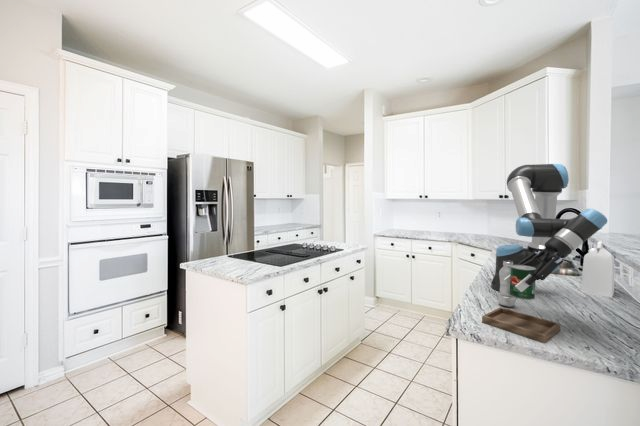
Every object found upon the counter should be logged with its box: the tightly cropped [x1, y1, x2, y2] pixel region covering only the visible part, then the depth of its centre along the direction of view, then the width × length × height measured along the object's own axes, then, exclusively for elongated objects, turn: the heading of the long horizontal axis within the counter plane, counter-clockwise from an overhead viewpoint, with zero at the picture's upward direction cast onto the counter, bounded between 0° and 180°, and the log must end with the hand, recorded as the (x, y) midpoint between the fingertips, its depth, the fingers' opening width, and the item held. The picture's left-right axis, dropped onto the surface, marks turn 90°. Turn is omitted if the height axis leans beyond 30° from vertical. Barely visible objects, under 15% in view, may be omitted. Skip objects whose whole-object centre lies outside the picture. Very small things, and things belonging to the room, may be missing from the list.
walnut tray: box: [481, 307, 561, 344], centre depth 110 cm, size 20×16×2 cm
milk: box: [580, 241, 615, 298], centre depth 151 cm, size 12×12×26 cm
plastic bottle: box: [497, 261, 516, 308], centre depth 131 cm, size 6×7×20 cm
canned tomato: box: [509, 265, 536, 301], centre depth 109 cm, size 8×8×11 cm
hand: (512, 285), depth 110 cm, fingers closed on canned tomato, 8 cm apart
